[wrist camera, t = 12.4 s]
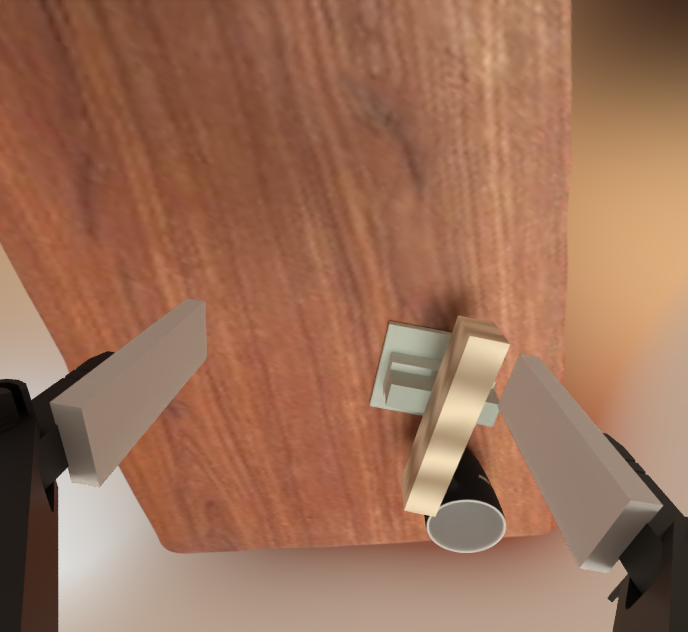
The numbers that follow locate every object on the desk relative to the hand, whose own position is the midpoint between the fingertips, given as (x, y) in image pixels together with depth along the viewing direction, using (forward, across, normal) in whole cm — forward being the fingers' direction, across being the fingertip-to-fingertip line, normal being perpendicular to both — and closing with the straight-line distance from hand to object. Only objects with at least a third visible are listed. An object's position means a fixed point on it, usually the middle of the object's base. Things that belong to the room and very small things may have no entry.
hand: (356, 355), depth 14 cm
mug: (+24, +16, -28) cm, 40 cm away
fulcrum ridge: (+25, +12, -16) cm, 31 cm away
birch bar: (+18, +11, -16) cm, 27 cm away
